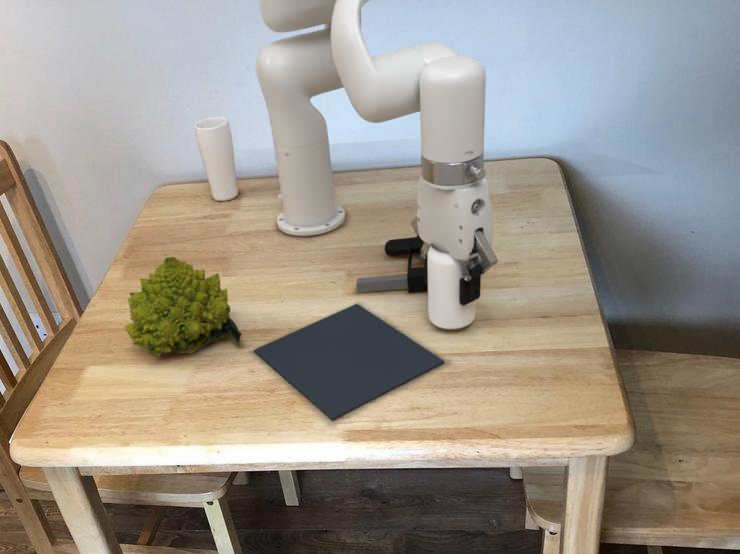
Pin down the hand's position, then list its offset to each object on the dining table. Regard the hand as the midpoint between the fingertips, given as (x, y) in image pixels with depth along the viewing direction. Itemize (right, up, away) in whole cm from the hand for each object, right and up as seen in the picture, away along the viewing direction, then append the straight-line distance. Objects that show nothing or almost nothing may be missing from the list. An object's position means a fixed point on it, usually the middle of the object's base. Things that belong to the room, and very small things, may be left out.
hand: (451, 289), depth 105 cm
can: (0, -4, +3) cm, 5 cm away
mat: (-15, -9, 0) cm, 17 cm away
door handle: (-4, +4, +15) cm, 16 cm away
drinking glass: (-37, +25, +49) cm, 67 cm away
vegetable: (-38, -6, +8) cm, 39 cm away
